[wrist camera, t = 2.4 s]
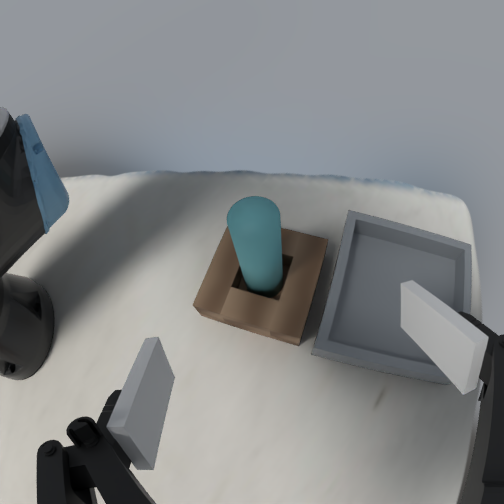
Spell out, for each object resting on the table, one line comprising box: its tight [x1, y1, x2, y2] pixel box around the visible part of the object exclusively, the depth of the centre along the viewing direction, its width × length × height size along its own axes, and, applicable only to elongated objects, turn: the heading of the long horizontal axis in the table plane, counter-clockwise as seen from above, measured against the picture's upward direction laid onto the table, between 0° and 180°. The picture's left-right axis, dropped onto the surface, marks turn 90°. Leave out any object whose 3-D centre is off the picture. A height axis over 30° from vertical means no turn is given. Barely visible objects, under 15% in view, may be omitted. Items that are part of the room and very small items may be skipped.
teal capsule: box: [227, 196, 283, 298], centre depth 29 cm, size 4×4×12 cm
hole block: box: [193, 226, 328, 346], centre depth 33 cm, size 11×11×4 cm
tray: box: [311, 210, 472, 385], centre depth 30 cm, size 16×16×4 cm
